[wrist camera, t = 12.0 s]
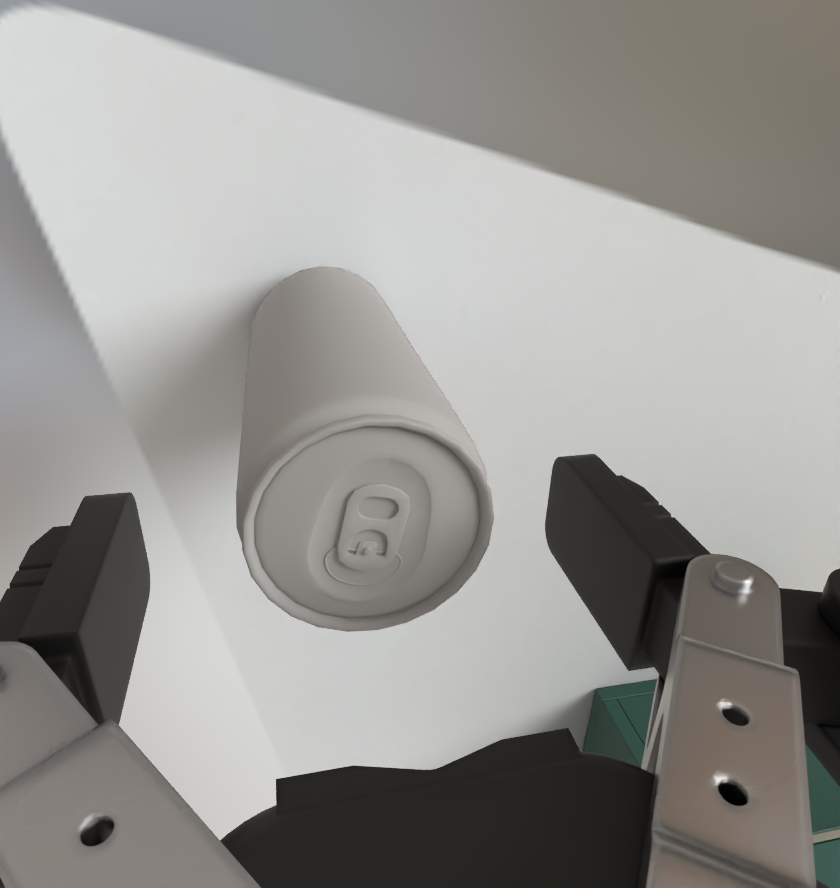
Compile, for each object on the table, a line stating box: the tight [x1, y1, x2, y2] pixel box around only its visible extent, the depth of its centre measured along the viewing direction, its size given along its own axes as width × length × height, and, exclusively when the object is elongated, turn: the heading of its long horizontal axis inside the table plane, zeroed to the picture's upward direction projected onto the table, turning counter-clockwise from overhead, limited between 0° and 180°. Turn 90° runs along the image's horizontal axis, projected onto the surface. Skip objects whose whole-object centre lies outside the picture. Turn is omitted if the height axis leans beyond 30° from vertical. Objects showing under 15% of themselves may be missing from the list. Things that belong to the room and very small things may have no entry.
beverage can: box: [236, 267, 494, 632], centre depth 17 cm, size 5×5×12 cm
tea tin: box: [583, 680, 840, 845], centre depth 33 cm, size 10×11×9 cm
